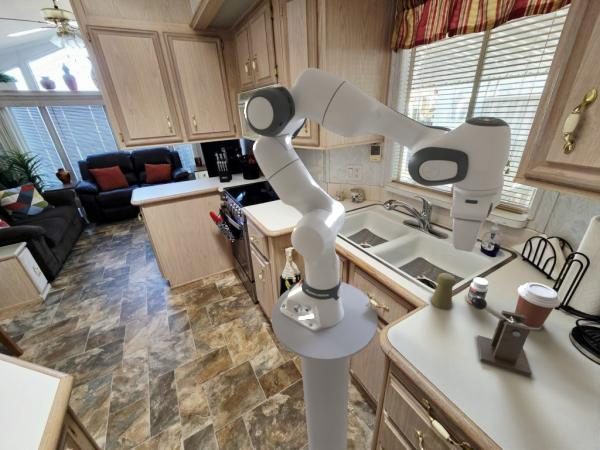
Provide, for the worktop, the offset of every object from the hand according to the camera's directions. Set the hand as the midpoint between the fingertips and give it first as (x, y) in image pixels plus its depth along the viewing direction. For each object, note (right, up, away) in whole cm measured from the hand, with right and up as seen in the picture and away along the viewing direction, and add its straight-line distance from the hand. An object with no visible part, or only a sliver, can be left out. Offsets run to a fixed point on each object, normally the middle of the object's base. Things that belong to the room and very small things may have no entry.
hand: (469, 243), depth 62 cm
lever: (+6, -19, +1) cm, 20 cm away
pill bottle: (+17, -21, +22) cm, 35 cm away
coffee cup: (+27, -25, +13) cm, 39 cm away
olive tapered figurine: (+6, -22, +23) cm, 32 cm away
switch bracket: (+11, -30, +4) cm, 32 cm away
